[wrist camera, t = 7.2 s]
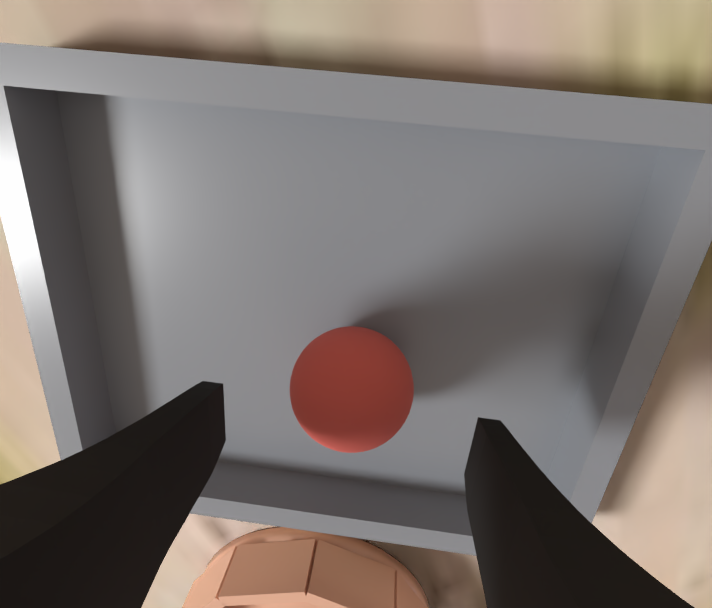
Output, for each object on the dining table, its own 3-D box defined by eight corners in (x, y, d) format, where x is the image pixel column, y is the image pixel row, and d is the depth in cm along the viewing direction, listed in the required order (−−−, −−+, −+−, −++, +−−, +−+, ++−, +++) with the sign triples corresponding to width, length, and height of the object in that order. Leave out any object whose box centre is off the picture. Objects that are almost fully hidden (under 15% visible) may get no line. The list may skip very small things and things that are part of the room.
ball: (419, 314, 15) (427, 377, 11) (403, 408, 16) (405, 490, 13) (306, 300, 15) (276, 357, 11) (300, 395, 17) (273, 471, 13)
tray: (699, 111, 12) (767, 108, 10) (550, 514, 19) (571, 570, 16) (33, 53, 13) (-43, 38, 11) (108, 452, 20) (69, 495, 17)
